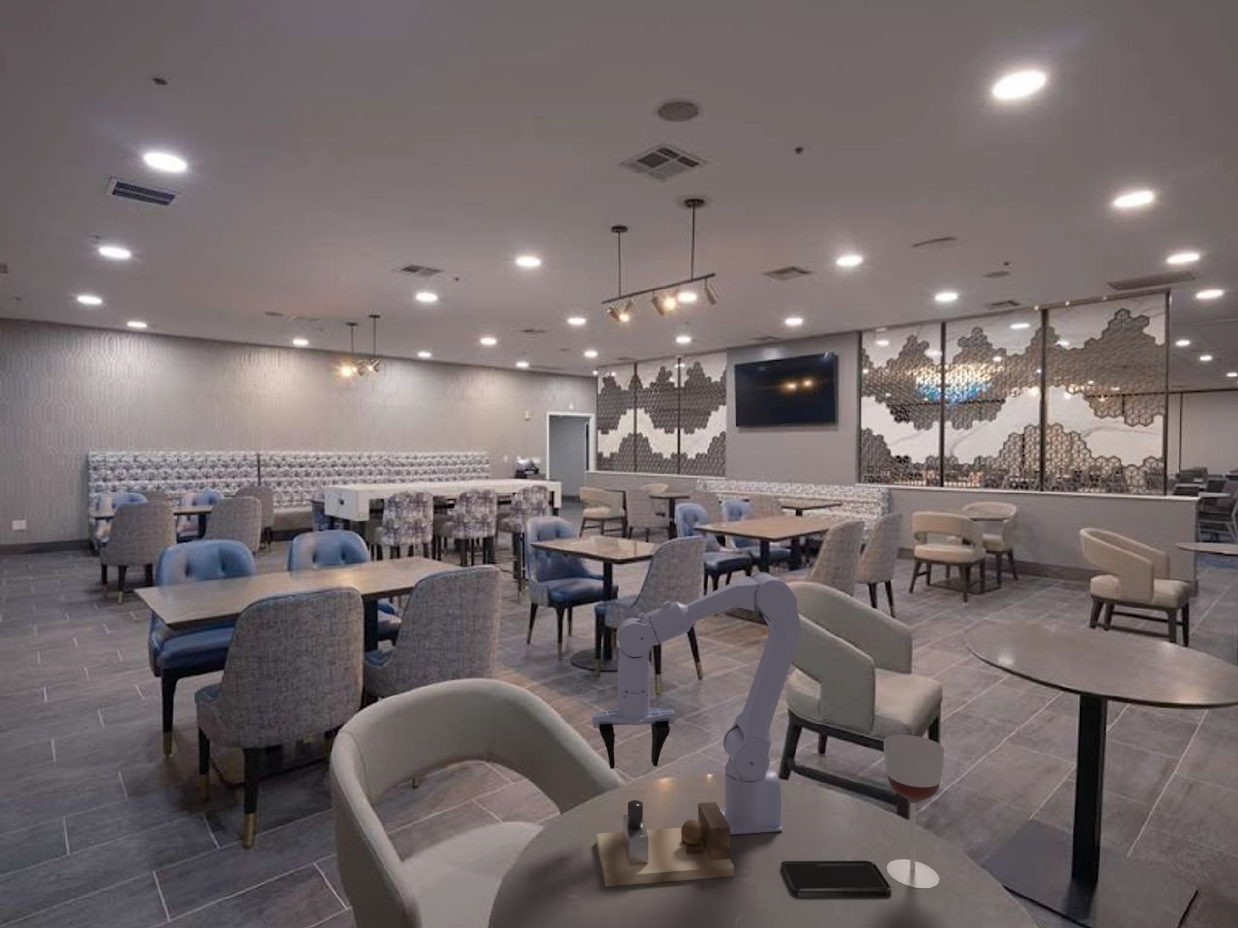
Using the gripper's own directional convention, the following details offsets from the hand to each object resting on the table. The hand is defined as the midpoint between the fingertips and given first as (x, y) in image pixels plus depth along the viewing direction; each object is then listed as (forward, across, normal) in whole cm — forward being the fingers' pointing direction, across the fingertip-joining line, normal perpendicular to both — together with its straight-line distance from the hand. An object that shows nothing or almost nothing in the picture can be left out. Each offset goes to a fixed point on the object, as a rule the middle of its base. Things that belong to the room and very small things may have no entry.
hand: (633, 764), depth 119 cm
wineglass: (+11, +41, -20) cm, 47 cm away
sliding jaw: (+9, -2, -11) cm, 14 cm away
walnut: (+6, +8, -11) cm, 15 cm away
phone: (+11, +28, -20) cm, 36 cm away
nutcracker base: (+10, +3, -11) cm, 15 cm away
